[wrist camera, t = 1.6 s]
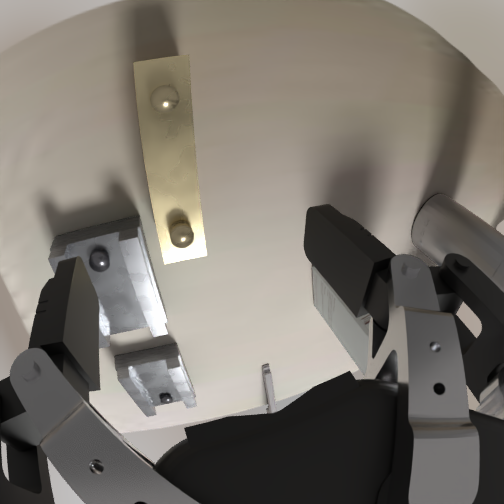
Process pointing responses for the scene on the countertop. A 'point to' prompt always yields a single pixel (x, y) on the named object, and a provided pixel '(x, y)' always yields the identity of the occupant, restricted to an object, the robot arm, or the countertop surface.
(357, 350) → the supplement box
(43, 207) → the countertop surface
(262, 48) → the countertop surface
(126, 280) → the metal brackets
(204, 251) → the chain link plate
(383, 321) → the robot arm
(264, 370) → the caliper
